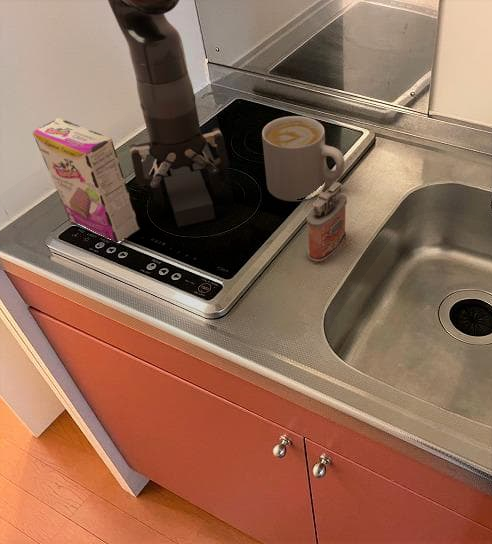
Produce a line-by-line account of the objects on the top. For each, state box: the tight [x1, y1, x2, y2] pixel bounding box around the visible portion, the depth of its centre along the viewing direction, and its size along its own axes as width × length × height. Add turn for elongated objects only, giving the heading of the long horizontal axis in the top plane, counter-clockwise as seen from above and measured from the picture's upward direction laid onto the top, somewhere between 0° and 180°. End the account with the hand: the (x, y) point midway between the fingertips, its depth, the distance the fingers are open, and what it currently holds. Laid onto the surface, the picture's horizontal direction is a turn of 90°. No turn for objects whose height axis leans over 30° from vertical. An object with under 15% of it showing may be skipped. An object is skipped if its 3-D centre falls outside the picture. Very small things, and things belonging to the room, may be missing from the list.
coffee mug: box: [261, 115, 346, 202], centre depth 93 cm, size 13×10×10 cm
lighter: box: [306, 181, 348, 266], centre depth 82 cm, size 8×3×10 cm, turn 147°
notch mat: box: [136, 131, 215, 196], centre depth 100 cm, size 12×12×3 cm
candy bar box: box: [32, 117, 141, 246], centre depth 84 cm, size 11×5×16 cm, turn 58°
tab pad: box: [164, 167, 216, 228], centre depth 93 cm, size 6×13×3 cm, turn 21°
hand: (188, 196), depth 92 cm, fingers open, 8 cm apart
